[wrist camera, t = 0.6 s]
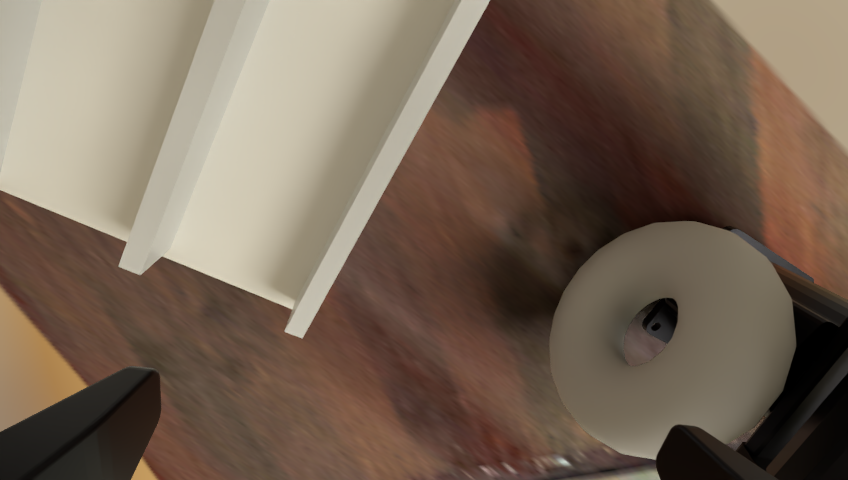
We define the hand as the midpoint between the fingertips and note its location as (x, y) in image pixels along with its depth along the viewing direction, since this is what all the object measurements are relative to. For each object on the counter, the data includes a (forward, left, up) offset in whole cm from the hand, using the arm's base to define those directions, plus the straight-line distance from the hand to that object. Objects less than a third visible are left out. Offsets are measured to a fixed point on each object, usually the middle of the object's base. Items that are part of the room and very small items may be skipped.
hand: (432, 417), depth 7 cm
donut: (-11, -1, -14) cm, 18 cm away
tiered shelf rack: (+8, -1, -13) cm, 16 cm away
